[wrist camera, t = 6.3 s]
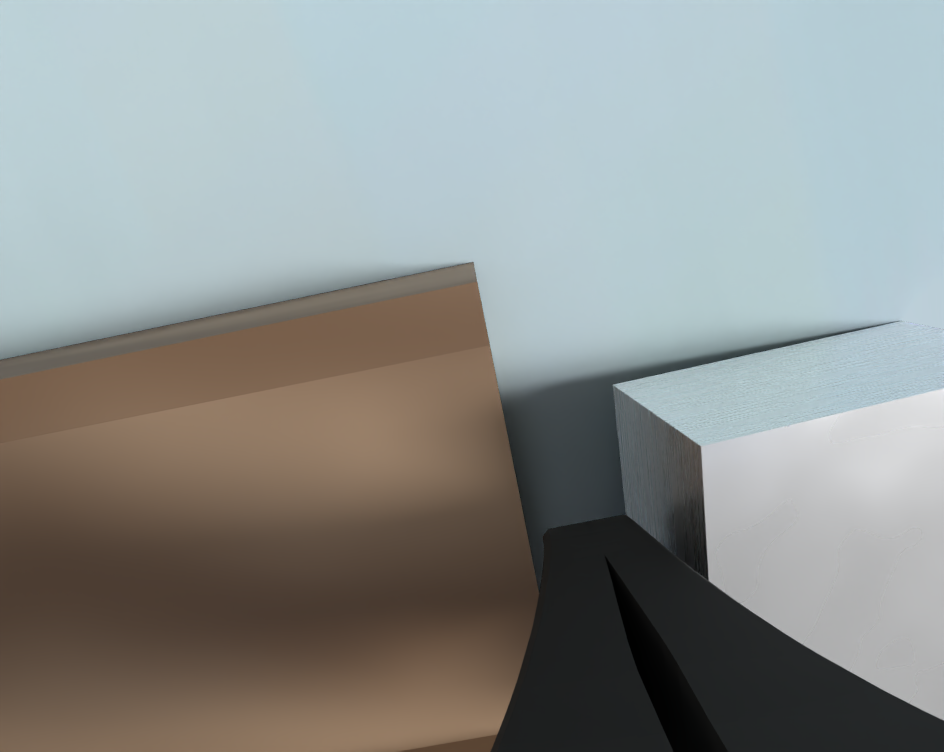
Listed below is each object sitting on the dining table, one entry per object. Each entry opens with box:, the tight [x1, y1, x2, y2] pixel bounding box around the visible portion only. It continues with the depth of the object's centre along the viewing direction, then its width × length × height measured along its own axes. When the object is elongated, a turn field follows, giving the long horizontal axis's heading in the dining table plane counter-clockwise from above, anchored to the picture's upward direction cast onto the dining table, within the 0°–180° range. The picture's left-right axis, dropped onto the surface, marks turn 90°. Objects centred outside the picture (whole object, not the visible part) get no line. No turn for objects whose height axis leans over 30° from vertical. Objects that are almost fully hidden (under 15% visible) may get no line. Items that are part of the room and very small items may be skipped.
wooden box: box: [0, 262, 539, 752], centre depth 10 cm, size 10×14×2 cm
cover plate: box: [613, 321, 944, 720], centre depth 9 cm, size 6×5×2 cm
